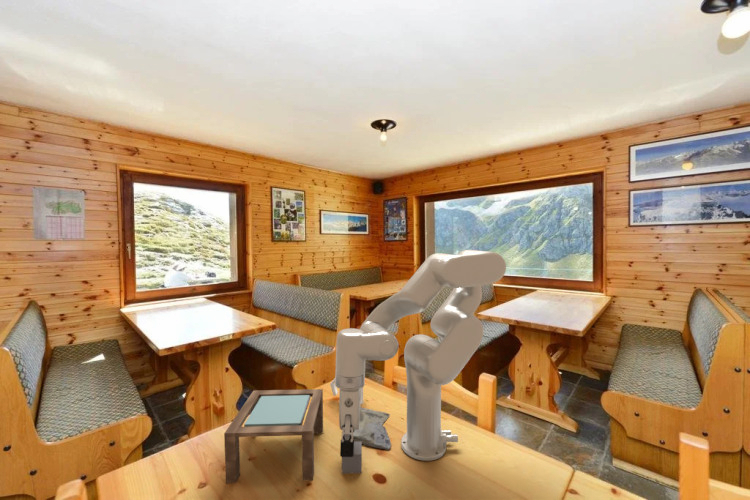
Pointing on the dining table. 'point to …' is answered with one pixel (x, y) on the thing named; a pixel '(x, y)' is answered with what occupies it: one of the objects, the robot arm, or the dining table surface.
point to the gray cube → (353, 460)
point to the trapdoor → (279, 411)
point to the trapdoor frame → (275, 431)
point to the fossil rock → (372, 429)
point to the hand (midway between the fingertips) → (347, 443)
